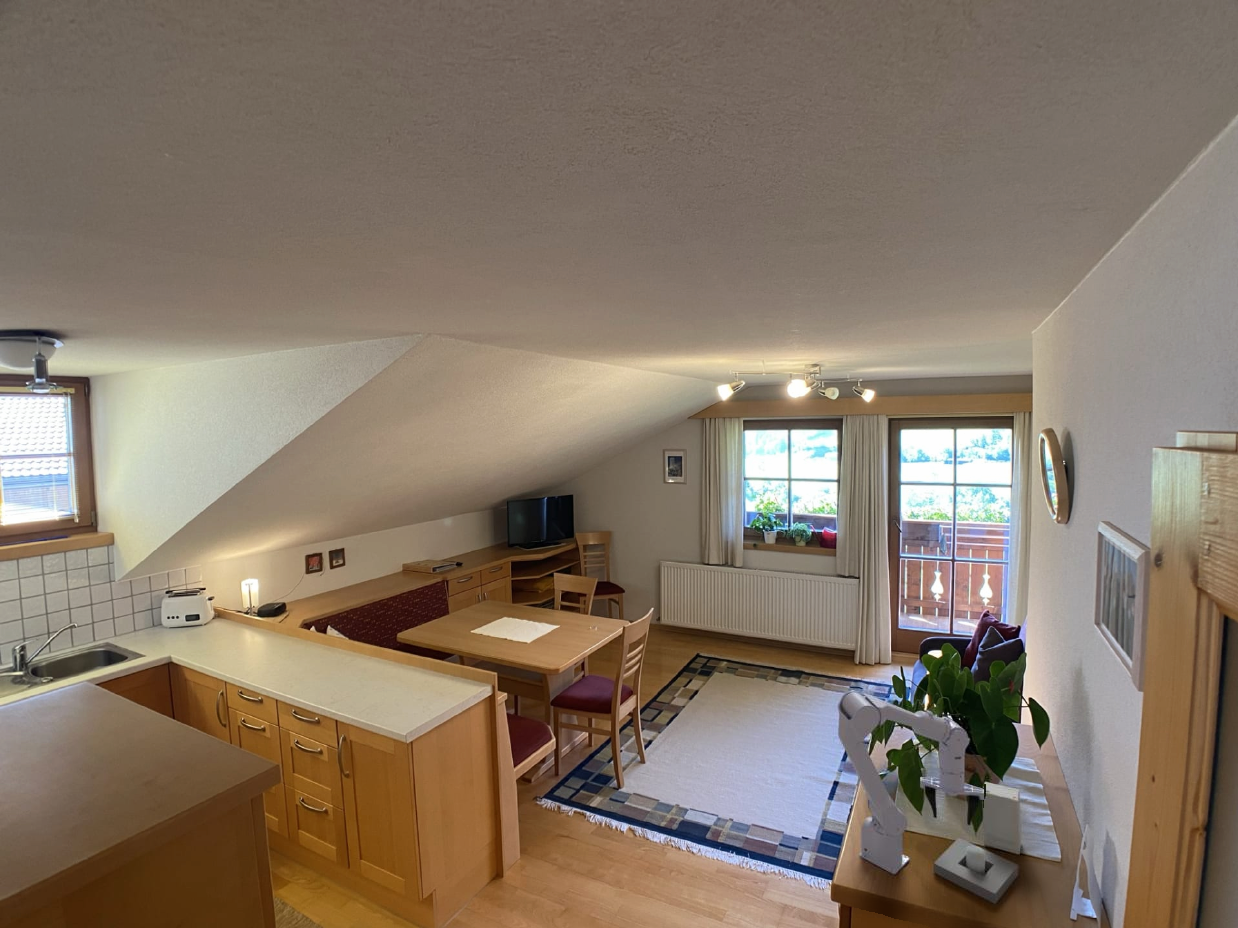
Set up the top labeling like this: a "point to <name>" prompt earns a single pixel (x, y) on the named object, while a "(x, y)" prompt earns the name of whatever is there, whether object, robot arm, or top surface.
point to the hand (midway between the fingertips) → (951, 818)
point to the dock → (983, 886)
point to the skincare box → (1002, 818)
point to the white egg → (975, 859)
